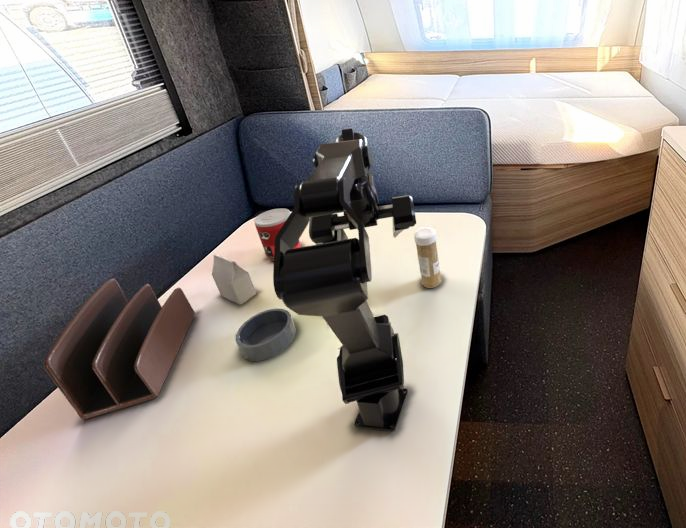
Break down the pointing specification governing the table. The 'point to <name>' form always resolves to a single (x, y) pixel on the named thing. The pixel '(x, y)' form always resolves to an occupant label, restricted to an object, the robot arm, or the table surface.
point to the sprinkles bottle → (428, 256)
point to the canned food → (271, 229)
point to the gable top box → (232, 280)
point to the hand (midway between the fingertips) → (371, 239)
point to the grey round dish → (265, 334)
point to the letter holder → (118, 349)
